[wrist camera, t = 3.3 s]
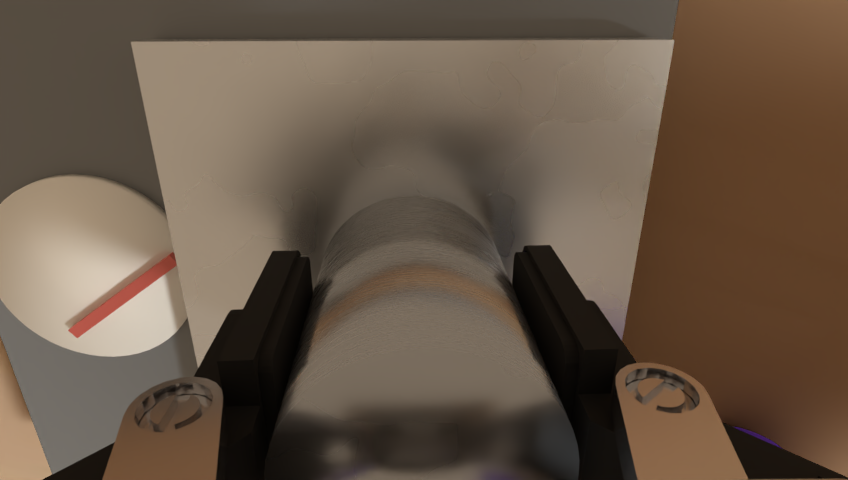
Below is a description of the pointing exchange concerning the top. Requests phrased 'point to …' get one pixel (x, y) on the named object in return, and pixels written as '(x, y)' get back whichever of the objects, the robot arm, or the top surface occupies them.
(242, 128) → the platform
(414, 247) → the cylinder
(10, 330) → the scale
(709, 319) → the top surface
